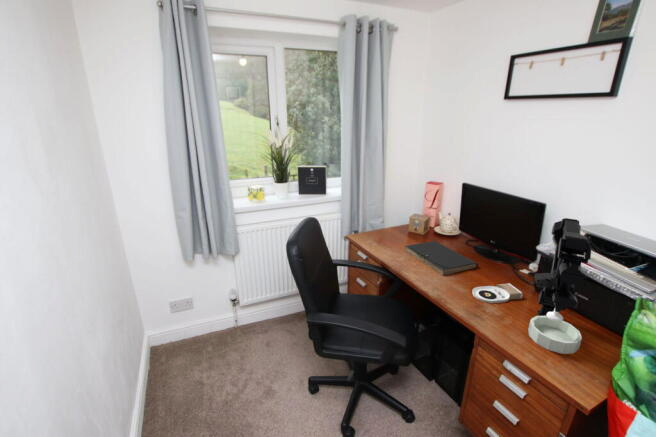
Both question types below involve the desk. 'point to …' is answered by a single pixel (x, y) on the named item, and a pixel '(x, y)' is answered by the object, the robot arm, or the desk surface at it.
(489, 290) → the record player
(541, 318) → the bowl
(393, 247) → the desk surface
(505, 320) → the desk surface
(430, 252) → the dark grey book
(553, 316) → the chess piece
